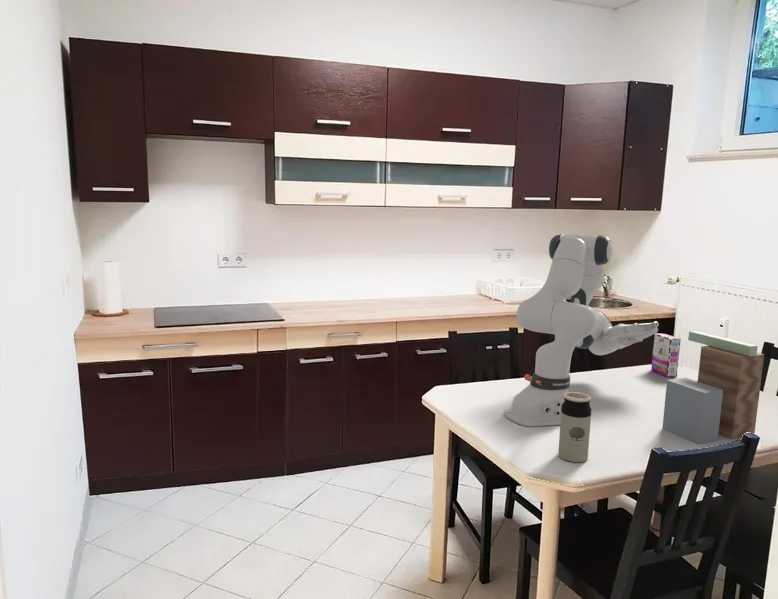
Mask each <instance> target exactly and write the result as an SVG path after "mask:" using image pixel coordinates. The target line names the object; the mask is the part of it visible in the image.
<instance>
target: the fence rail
mask: <svg viewBox="0 0 778 599" xmlns="http://www.w3.org/2000/svg"><path fill="white" fill-rule="evenodd" d="M688 341H690V342H694V343H698V344H701V345H704V346H713V347H716V348H720V349H724V350H728V351H732V352H735V353H739V354H743V355H747V356H756V355H757V353H758V345H756V344H752V343H748V342H744V341H740V340H736V339H731V338H726V337H722V336H719V335H715V334H712V333H711V334H710V333H707V332H702V331H697V330H690V331H688Z"/></svg>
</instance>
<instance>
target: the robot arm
mask: <svg viewBox="0 0 778 599" xmlns="http://www.w3.org/2000/svg"><path fill="white" fill-rule="evenodd" d="M613 248H614V247H613V242H612V240H611V239H610V238H609V237H608V236H605V235H602V234H599V235H593V234H587V233H586V234H585V233H584V234H582V233H571V234H570V233H568V234H564V233H560V234H555V235H554V236H553V237H552V238H551V239H550V241H549V245H548V254H549V257H550V259H551V265H550V268H549V271H548V275H547V278H546V281H545V282H544V284H543V286H542V287H541V288H540V290H538V291H537V292H536V293H535V294H533V296H531V297H529V298H527V299H524V300H523V301H522V302H521V303H520V304H519V306H518V307H517V309H516V310H517V311H516V320H517V322H518V324H519V326H520V327H521V328H523V329H525V330H528V331H531V332H535V333H542V334H551V335H554V341H552V342H549V343H545V344H543V345H542V346H540V347H539V348H538V349H537V351H536V353H535V367H534V372H533V374H532V375H529V373H528V374H525V375H524V377H523V378H524V380H525V381H527V382H529V384H528V385H527V386H526V387H525V388H523V389H522V390H521V391H520V392H519V393H517V394H516V395H515V396H514V397H513V399H512V404H511V408H508V409H504V412H503V414H504V416H505V417H506V418H507V419H509V420H510V421H512V422H514V423H516V424H518V425H520V426H523V427H529V428H530V427H543V426H559V425H560V421H561V407H562V404H563V403H564V397H563V394H565V393H567V392H570V391H569V388H570V386H571V376H570V370H571V369H570V368H571V362H572V361H571V360H572V357H573V356H572V355H573V352H574V350H575V348H578V349H584V350H585V349H588V350H589V352H591V353H592V354H593V355H597V356H605V355H608V354H611V353H614V352H615V351H617V350H621V349H624V348H626V347H628V346H631V345H633V344H638V343H641V342H644V339H647V338H649V337H651V336H653V335H655V334H658V331H659V328H658V327H659V326H660V324H659V322H658V321H653V322H649V323H646V322H645V323H638V322H636V323H633V324H625V323H619V324H617V325H614V326H613V325H612V323H611V321H610V318H608V316H607V315H606V314H605V313H603V312H602V311H600V310H594V309H593V307H591V306H590V302H592V300H593V298H594V297H595V294H596V293H597V292H598V291H599V290H600V288H601V287H602V286H603V283H604V280H605V265H606V264H608V263H609V262H610V260H611V259H612V258H611V257H612V255H613V253H614V252H613V250H614V249H613ZM567 298H570V301H569V302H567V301H564V300H566V299H567Z"/></svg>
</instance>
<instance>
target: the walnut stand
mask: <svg viewBox="0 0 778 599" xmlns="http://www.w3.org/2000/svg"><path fill="white" fill-rule="evenodd" d="M764 360H765V353H760V352H757V355H756V356H747V355H743V354H739V353H735V352H732V351H728V350H724V349H720V348H716V347H713V346H709V345H704V346H703V345H701V346H700V355H699V366H698V374H697V375H698V376H697V381H698V382H701V383H704V384H707V385H710V386H713V387H716V388H719V389H722V390H723V397H722V405H721V414H720V423H719V432H718V435H721V436H723V437H726V438H728V439H730V440H735V439H739V438H743V437H742V435H743V434H744V433H746V432H751V433H755V431H756V424H757V416H758V408H759V402H760V393H761V385H762V375H763V369H764Z"/></svg>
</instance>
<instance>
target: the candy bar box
mask: <svg viewBox="0 0 778 599" xmlns="http://www.w3.org/2000/svg"><path fill="white" fill-rule="evenodd" d="M681 341H682V339H681V338H679V337H676V336H673V335H669V334H666V333H658V332H657V333H655V334H654V339H653V348H652V359H651V366H650V367H651V370H650V371H653V372H655V373H657V374H659V375H662V376H664V377H666V378H677V377H678V368H679V360H680V358H679V357H680V356H679V355H680V349H681V348H680V347H681Z"/></svg>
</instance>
